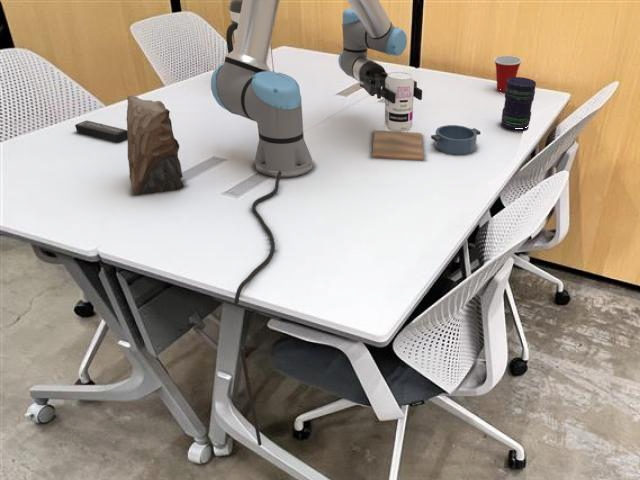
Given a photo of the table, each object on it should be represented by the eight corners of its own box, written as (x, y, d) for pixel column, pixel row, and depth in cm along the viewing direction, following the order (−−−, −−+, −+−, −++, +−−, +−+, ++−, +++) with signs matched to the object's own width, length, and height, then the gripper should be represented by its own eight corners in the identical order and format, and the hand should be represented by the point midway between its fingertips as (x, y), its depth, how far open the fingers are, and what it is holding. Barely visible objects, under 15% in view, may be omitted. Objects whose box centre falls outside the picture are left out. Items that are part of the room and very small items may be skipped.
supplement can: (397, 120, 180) (399, 69, 171) (417, 128, 177) (420, 76, 167) (379, 126, 175) (379, 74, 166) (399, 134, 171) (400, 81, 162)
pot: (488, 150, 183) (489, 135, 180) (444, 158, 175) (445, 143, 172) (465, 135, 191) (466, 122, 188) (422, 143, 183) (423, 129, 180)
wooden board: (423, 160, 173) (423, 157, 172) (372, 157, 171) (372, 155, 170) (420, 135, 188) (421, 132, 187) (374, 132, 186) (374, 130, 186)
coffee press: (232, 77, 217) (218, -16, 198) (276, 77, 221) (267, -14, 202) (233, 92, 204) (219, -6, 185) (280, 91, 209) (271, -4, 190)
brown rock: (138, 173, 151) (117, 93, 138) (191, 172, 154) (174, 94, 141) (131, 195, 141) (107, 112, 129) (187, 193, 145) (169, 112, 132)
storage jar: (531, 124, 204) (538, 80, 195) (526, 133, 197) (534, 88, 188) (503, 119, 206) (509, 75, 196) (497, 128, 199) (504, 82, 189)
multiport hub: (118, 143, 164) (116, 134, 162) (76, 132, 167) (74, 124, 165) (129, 137, 167) (127, 129, 166) (88, 128, 170) (86, 120, 169)
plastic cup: (485, 87, 234) (489, 55, 226) (508, 85, 238) (513, 54, 230) (498, 95, 227) (502, 63, 219) (522, 94, 231) (527, 62, 223)
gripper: (399, 83, 187) (437, 105, 174) (339, 90, 177) (375, 114, 164) (399, 58, 183) (439, 79, 169) (338, 63, 173) (375, 87, 159)
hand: (407, 96), depth 166 cm, fingers closed on supplement can, 8 cm apart
